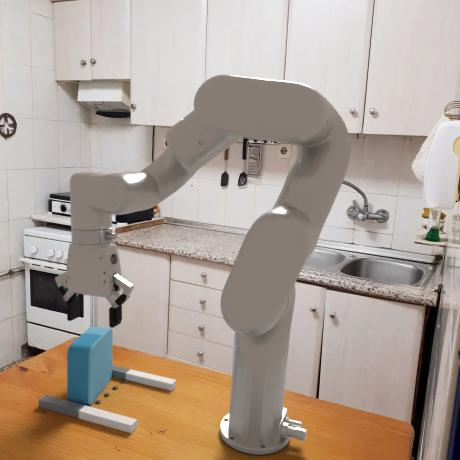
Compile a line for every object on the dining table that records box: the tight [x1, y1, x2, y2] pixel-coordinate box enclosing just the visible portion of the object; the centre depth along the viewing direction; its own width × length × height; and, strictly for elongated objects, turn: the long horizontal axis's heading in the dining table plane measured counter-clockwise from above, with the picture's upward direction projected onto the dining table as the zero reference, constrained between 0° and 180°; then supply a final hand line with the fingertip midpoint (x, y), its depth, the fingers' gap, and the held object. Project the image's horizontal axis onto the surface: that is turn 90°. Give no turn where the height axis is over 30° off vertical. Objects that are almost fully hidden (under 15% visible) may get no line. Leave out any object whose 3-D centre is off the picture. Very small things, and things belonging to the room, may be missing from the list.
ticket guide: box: [38, 364, 177, 434], centre depth 92 cm, size 20×18×2 cm
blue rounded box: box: [66, 326, 114, 406], centre depth 93 cm, size 12×4×12 cm, turn 173°
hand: (94, 321), depth 91 cm, fingers open, 9 cm apart
